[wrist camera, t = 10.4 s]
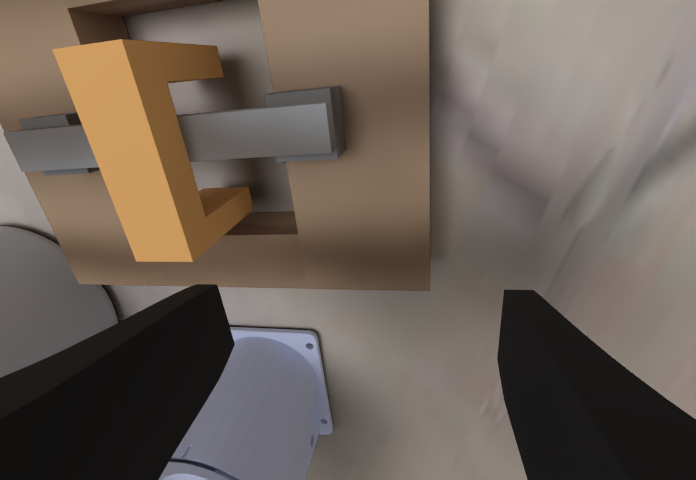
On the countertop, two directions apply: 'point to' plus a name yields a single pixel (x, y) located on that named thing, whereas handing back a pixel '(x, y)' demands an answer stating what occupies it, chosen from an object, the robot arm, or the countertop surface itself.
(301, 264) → the hook board
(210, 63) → the orange c-shaped bracket
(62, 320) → the cylinder vase
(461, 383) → the countertop surface
